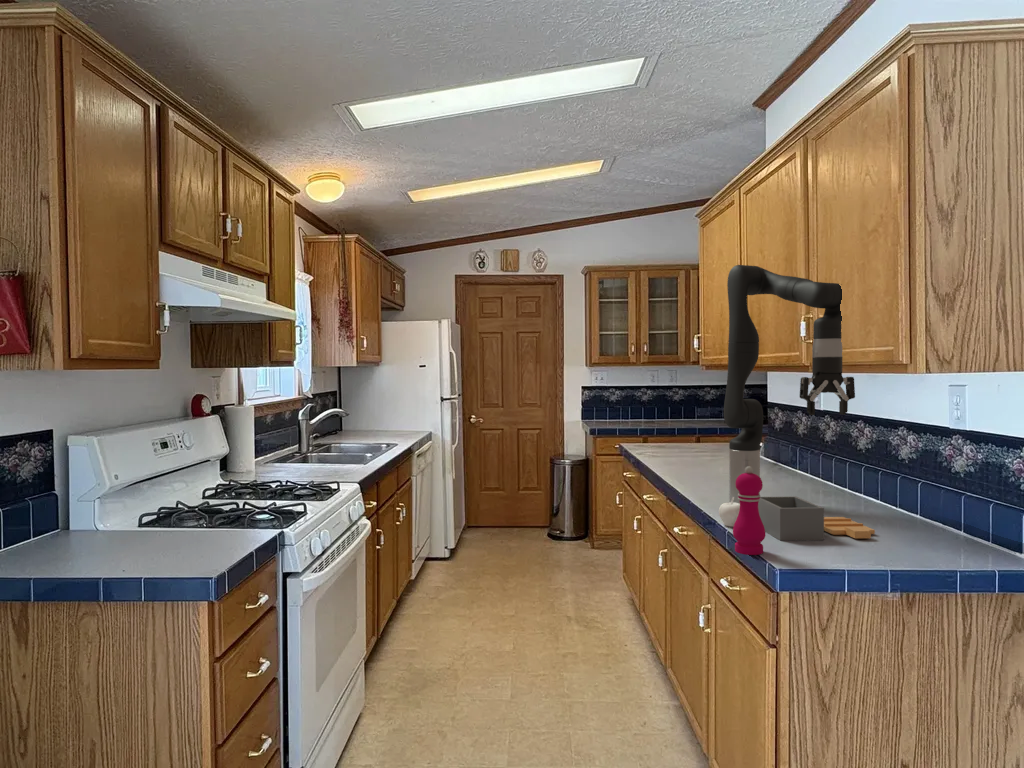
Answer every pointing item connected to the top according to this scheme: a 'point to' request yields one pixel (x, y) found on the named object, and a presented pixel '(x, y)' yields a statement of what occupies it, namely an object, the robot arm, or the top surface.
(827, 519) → the wooden paddle board
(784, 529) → the tub
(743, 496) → the pepper mill
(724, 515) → the apple
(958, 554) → the top surface
